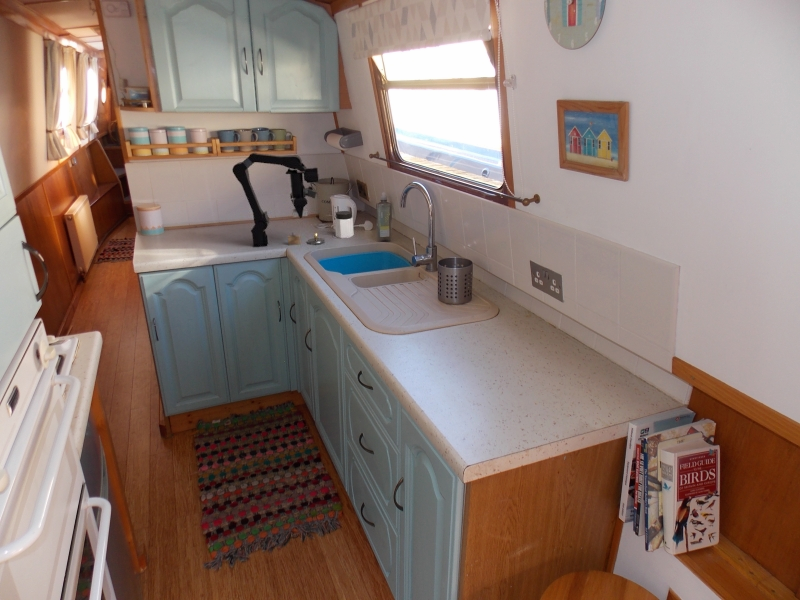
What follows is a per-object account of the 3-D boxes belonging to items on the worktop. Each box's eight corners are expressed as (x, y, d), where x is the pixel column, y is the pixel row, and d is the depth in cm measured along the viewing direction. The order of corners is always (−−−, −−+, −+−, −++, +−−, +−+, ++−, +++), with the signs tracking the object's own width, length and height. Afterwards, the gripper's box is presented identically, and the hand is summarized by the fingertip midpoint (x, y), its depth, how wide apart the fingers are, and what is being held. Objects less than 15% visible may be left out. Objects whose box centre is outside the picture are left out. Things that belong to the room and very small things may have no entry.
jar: (356, 236, 285) (355, 212, 280) (343, 239, 280) (341, 215, 275) (346, 233, 291) (345, 210, 287) (333, 235, 286) (331, 212, 282)
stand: (288, 245, 270) (287, 233, 268) (288, 243, 272) (287, 232, 270) (300, 244, 272) (299, 233, 270) (300, 243, 274) (299, 231, 272)
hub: (309, 245, 270) (308, 235, 268) (307, 241, 277) (306, 231, 275) (325, 244, 272) (325, 234, 270) (323, 239, 279) (322, 230, 277)
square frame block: (293, 217, 264) (293, 211, 263) (292, 214, 270) (291, 209, 269) (307, 215, 266) (307, 210, 265) (306, 212, 271) (305, 207, 271)
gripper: (317, 185, 256) (319, 219, 262) (311, 179, 273) (314, 210, 278) (292, 187, 253) (295, 221, 259) (288, 180, 270) (291, 212, 276)
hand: (300, 216), depth 268 cm, fingers closed on square frame block, 7 cm apart
